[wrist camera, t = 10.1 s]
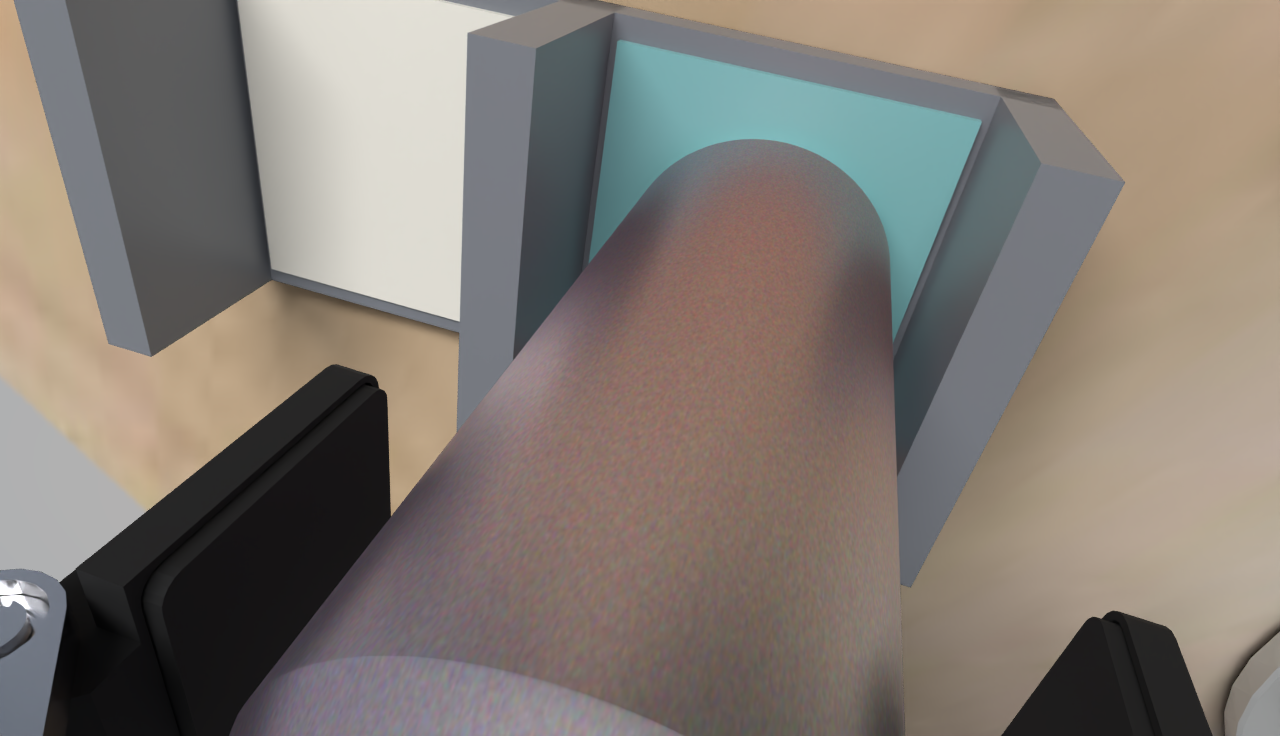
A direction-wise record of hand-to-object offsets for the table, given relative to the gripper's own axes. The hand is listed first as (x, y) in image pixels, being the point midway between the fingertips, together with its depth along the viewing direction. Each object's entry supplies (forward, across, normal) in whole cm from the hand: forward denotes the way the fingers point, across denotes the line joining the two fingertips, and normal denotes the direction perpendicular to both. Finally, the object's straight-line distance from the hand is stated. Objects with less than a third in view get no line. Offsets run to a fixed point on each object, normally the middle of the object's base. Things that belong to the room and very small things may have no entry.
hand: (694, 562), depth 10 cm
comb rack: (+10, +6, 0) cm, 12 cm away
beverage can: (+10, +1, 0) cm, 10 cm away
